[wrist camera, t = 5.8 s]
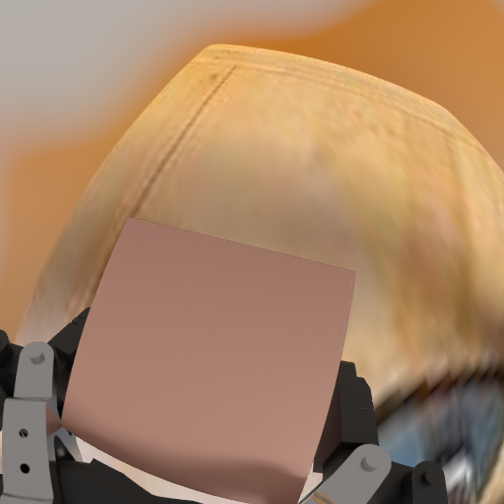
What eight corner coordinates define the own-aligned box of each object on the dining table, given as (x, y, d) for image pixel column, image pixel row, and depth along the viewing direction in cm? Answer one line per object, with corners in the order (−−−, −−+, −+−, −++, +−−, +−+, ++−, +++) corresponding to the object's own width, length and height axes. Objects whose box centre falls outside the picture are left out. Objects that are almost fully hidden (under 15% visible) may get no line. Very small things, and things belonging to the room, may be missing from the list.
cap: (186, 293, 15) (128, 216, 7) (301, 323, 14) (355, 271, 7) (152, 402, 12) (60, 425, 5) (271, 437, 12) (294, 509, 4)
